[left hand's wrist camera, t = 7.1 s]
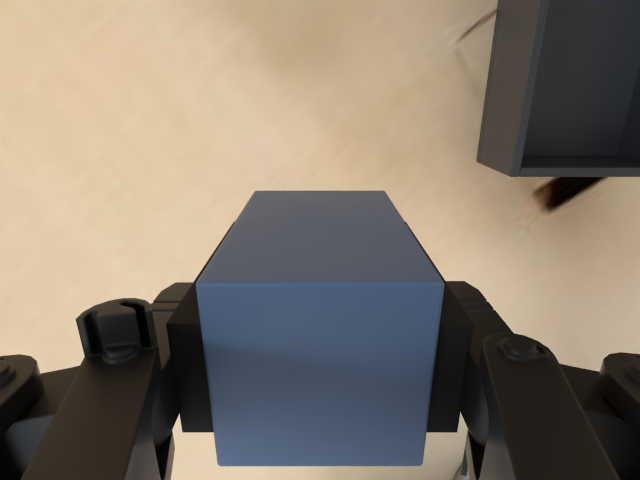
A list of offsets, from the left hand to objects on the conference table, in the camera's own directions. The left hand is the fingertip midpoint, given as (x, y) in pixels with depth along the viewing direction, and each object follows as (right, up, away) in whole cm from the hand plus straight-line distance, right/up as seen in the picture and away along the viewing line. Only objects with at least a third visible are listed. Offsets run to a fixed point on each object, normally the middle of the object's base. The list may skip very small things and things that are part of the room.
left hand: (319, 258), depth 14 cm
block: (0, 0, 0) cm, 0 cm away
